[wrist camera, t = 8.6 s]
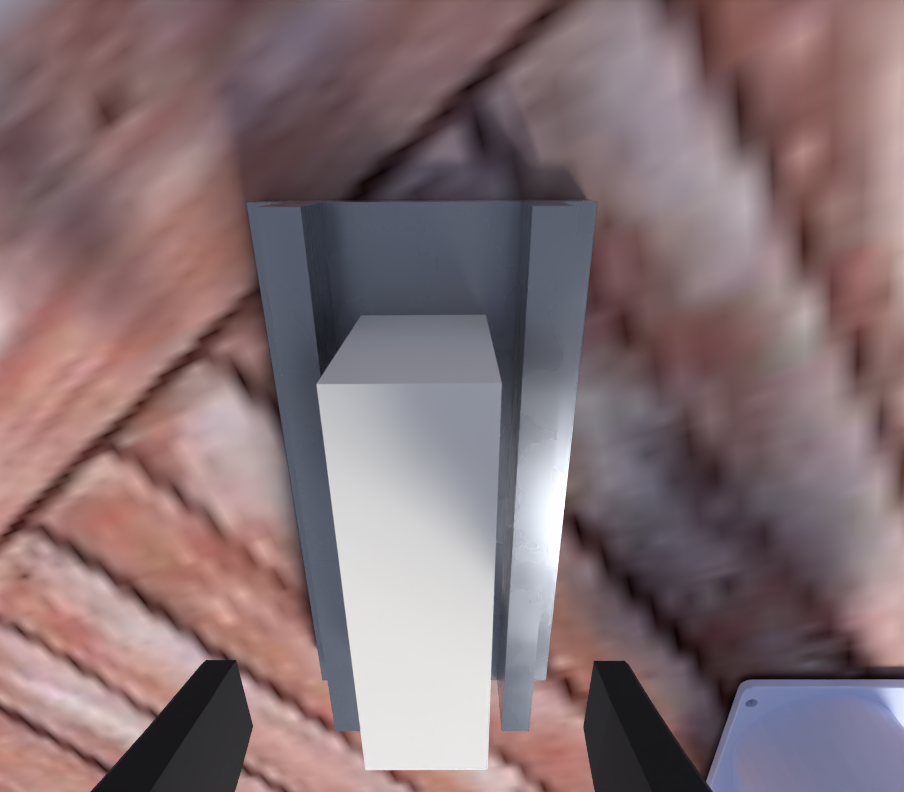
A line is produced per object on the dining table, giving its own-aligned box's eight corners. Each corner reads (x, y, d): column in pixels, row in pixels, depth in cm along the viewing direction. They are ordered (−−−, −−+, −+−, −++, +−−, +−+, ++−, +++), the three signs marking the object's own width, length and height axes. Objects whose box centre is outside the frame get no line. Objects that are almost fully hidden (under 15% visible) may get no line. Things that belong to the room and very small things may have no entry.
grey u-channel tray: (541, 658, 21) (554, 731, 18) (328, 658, 21) (309, 730, 18) (587, 199, 14) (621, 205, 11) (259, 200, 14) (211, 207, 11)
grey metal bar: (479, 625, 19) (487, 769, 14) (386, 625, 19) (365, 769, 14) (485, 315, 14) (501, 383, 9) (360, 315, 14) (316, 384, 9)
